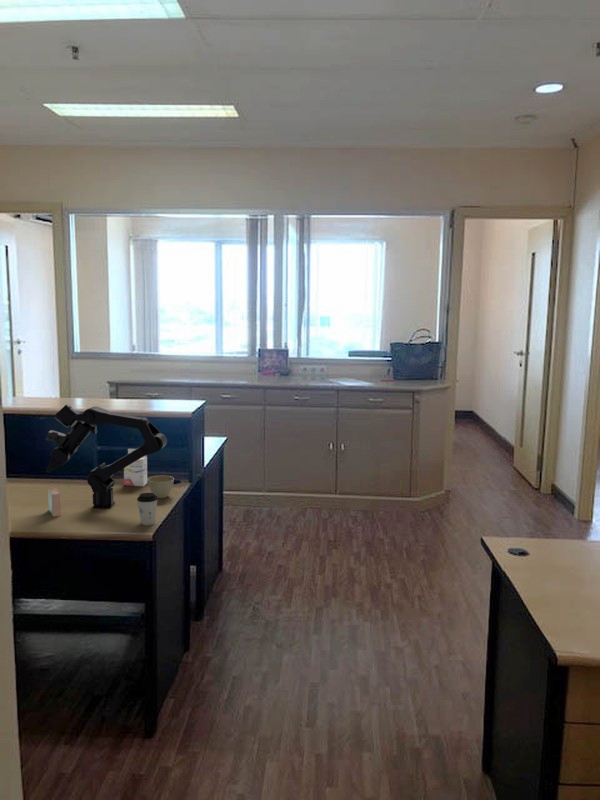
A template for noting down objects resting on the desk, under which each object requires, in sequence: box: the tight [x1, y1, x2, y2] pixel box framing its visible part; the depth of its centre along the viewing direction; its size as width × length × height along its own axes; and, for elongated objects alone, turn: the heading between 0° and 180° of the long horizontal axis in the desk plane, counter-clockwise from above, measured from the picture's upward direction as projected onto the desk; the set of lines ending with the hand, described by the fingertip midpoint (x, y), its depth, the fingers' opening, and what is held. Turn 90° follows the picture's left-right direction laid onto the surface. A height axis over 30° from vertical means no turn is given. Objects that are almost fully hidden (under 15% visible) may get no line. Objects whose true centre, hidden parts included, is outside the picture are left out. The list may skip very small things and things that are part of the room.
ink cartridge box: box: [123, 448, 148, 487], centre depth 253 cm, size 9×5×15 cm, turn 84°
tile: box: [47, 487, 62, 517], centre depth 217 cm, size 3×8×8 cm, turn 31°
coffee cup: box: [136, 492, 159, 526], centre depth 207 cm, size 7×7×10 cm
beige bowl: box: [147, 475, 175, 499], centre depth 237 cm, size 10×10×7 cm
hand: (50, 468), depth 222 cm, fingers open, 9 cm apart
